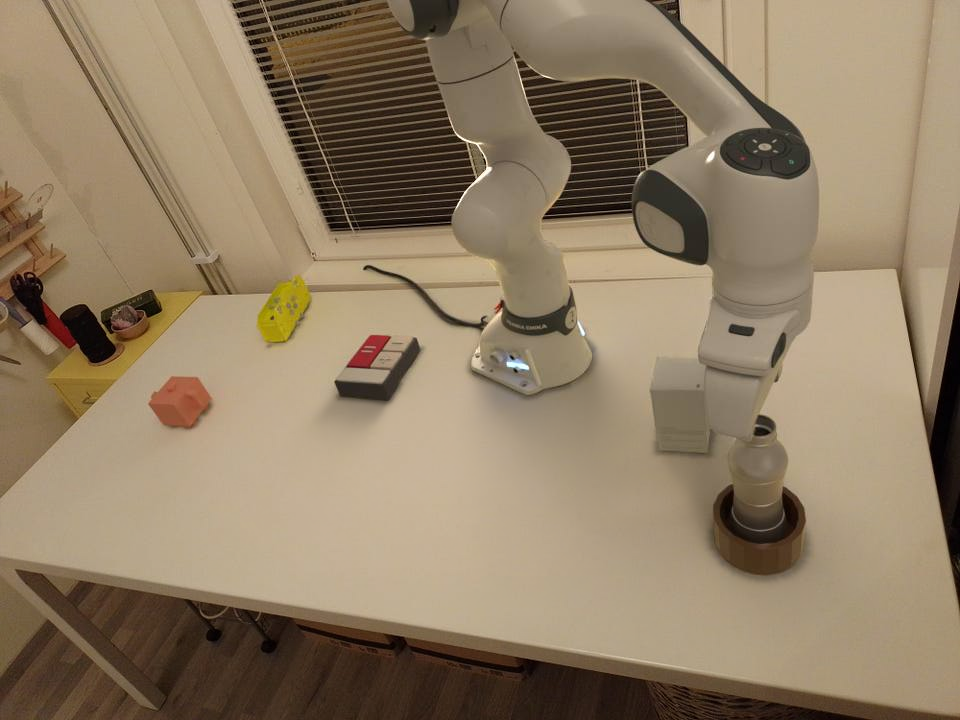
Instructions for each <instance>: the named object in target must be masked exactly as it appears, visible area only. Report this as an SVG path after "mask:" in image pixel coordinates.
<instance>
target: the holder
mask: <svg viewBox="0 0 960 720" xmlns="http://www.w3.org/2000/svg"><path fill="white" fill-rule="evenodd" d="M733 500H734V487H733V483H731V484H728V485H727V486H726V487H725V488H724V489H722V490H721V492H719V493H718V494H717V496H716V498H715V500H714V503H713V505H712V513H713V515H712V519H713V536H714V544H715V546H716V549H717V551H718V553H719V554H720V555H721V557H722V558H723V559H724V560H725V561H726V562H727V563H728V564H729V565H731V566H733V568H736V569H737V570H739V571H742V572H744V573H746V574H747V573H748V574H751V575H757V576H771V575H776V574H777V575H778V574H780V573H781V574H782V573H783V572H786V571H788V570H789V569H791V568H792V567H793V566H795V565H796V564H797V562H798V561H799V560H800V559H801V557H802V555H803V552H804V548H805V547H804V546H805V539H806V527H807V515H806V509H805V506H804V505H803V503H802V502H801V500H800V499H799V496H797V495H796V494H795V493H794V492H793V491H791V490H790V489H788V488H787V486H786V487H785V486H784V485H783V490H782V502H783V509H784V512H785V515H786V520H787V528H786V531H785V534H784V537H783V539H782V540H780V541H778V542H776V543H766V544H757V543H752V542H747V541H745V540H743V539H741V538H738V537H736V536H735V535H734V533H733V531H732V528H731V525H730V514H731V510H732V506H733Z"/></svg>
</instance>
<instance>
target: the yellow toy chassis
mask: <svg viewBox="0 0 960 720" xmlns="http://www.w3.org/2000/svg"><path fill="white" fill-rule="evenodd" d="M311 300H312V295H311V293H310V291H309V289H308V287H307V285H306V283H305V280H304V279H303V276H302V275H294V276H293V278H292V280H290V281H286V282H281V281H280V282H278V284H277V285H276V287H275V288H274V290H273V291H272V292H271V294H270V296H269V297H268V299H267V301H266V302H265V303H264V305H263V306H262V307H261V310H260V311H259V312H258V314H257V316H256V327H257V328H258V331H259V332H260V334H261V336H262V338H263V339H264V341H265V343H266V344H268V343H269V342H270V343H279V342H287V341H288V339H289V338H290V337H291V336H292V333H293V330H294V329H295V327H298V326H300V324H301V322H300V319H304V317H305V314H304V312H305V311H306V310H307V307H308V305H309V304H310V301H311Z"/></svg>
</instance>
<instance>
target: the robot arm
mask: <svg viewBox="0 0 960 720" xmlns="http://www.w3.org/2000/svg"><path fill="white" fill-rule="evenodd" d="M386 3H387V6H388V8H389V10H390V12H391V14H392V16H393V17H394V19H395V21H396V22H397V24H398V25H399V26H400V28H401V29H402V30H403V32H405V33H406V34H408V36H411V37H413V38H414V39H416V40H418V41H425V45H426V49H427V52H428V57H429V61H430V64H431V69H432V71H433V74H434V78H435V81H436V83H437V87H438V89H439V92H440V95H441V98H442V101H443V104H444V106H445V110H446V112H447V116H448V118H449V122H450V124H451V128H452V129H453V131H454V134H455V135H456V136H457V137H458V138H460V139H461V140H462V141H464V142H468V143H471V144H475V145H477V147H478V148H479V151H480V152H481V153H482V154H483V157H484V159H485V162H486V168H485V169H486V170H485V171H484V172H483V173H482V174H481V175H480V176H479V177H478V178H476V180H475V181H474V182H472V184H471V185H470V186H469V187H468V188H467V189H466V190H465V191H464V193H463V195H462V196H461V198H460V199H459V202H458V203H457V205H456V207H455V209H454V210H453V212H452V215H451V229H452V233H453V236H454V237H455V239H456V241H457V243H458V245H460V247H461V248H462V249H463V250H464V251H465V252H467V253H468V254H470V255H471V256H473V257H476V258H478V259H480V260H485V261H488V262H489V263H490V265H491V266H492V268H493V270H494V271H495V274H496V277H497V279H498V283H499V287H500V289H501V293H502V296H501V297H500V299H499V302H498V303H497V304H496V305H495V307H494V308H493V312H492V313H490V314H489V315H483V316H481V318H480V322H479V323H472V322H467V321H464V320H462V319H458V318H456V317H454V316H452V315H450V314H449V313H446V312H445V310H443V309H442V308H441V307H440V306H439V305H438V304H437V303H436V301H434V300H433V299H432V298H431V296H430V295H429V294H428V293H427V292H426V291H425V290H424V289H423V288H422V287H421V285H419V284H417V283H416V282H415V281H413V280H412V279H410V278H409V277H406V276H404V275H401V274H398V273H394V272H391V271H386V270H383V269H381V268H378V267H376V266H374V265H371V264H366V265H364V266H363V267H362V270H363V271H366V270H367V269H370V270H373V271H374V272H377V273H379V274H382V275H385V276H389V277H394V278H397V279H400V280H401V281H402V280H403V281H404V282H407V283H409V284H410V285H411V286H413V287H414V288H415V289H416V290H418V291H419V292H420V294H422V295H423V296H424V297H425V299H426V300H427V302H429V303H430V305H431V306H432V307H433V308H435V310H436V311H437V312H438V313H439V314H440V315H441V316H442V317H444V318H445V319H447V320H449V321H451V322H453V323H456V324H459V325H461V326H466V327H473V328H482V327H484V329H483V330H482V332H481V334H480V337H479V342H478V343H479V344H478V347H477V348H476V349H475V350H474V352H473V355H472V357H471V361H470V366H471V370H472V371H474V372H476V373H478V374H480V375H482V376H484V377H486V378H489V379H490V380H493V381H494V382H497V383H499V384H500V385H504V386H505V387H507V388H510V389H512V390H514V391H516V392H518V393H520V394H523V395H525V396H532V395H535V394H537V393H539V392H541V391H544V390H546V389H550V388H556V387H559V386H560V387H561V386H563V385H566V384H568V383H571V382H573V381H575V380H576V379H578V378H579V377H580V376H582V375H583V374H584V373H585V372H586V371H587V370H588V368H589V367H590V365H591V364H592V359H593V353H592V349H591V347H590V345H589V344H588V342H587V341H586V339H585V335H586V334H585V331H584V329H583V327H582V326H581V324H580V322H579V320H578V310H577V305H576V304H577V303H576V299H575V295H574V291H573V289H572V287H571V285H570V284H569V278H568V273H567V267H566V262H565V258H564V254H563V252H562V250H561V248H559V246H558V245H556V244H555V243H553V242H551V241H548V240H546V239H544V237H543V235H542V230H541V225H542V220H543V217H544V216H545V214H546V213H547V212H548V211H549V210H550V209H551V207H553V205H554V204H555V203H556V201H557V200H558V199H559V198H560V197H561V195H562V193H563V192H564V189H565V187H566V185H567V182H568V180H569V177H570V175H571V171H572V161H571V156H570V154H569V152H568V150H567V149H566V146H564V144H563V143H562V142H560V141H559V140H558V139H557V138H555V137H553V136H551V135H548V134H547V133H545V131H544V130H543V129H542V127H541V126H540V124H539V123H538V121H537V119H536V117H535V116H534V114H533V112H532V110H531V107H530V105H529V102H528V99H527V96H526V92H525V89H524V85H523V83H522V78H521V75H520V71H519V67H518V64H517V61H516V57H515V54H514V52H515V53H516V54H517V56H518V57H519V58H520V59H521V60H522V61H523V62H524V63H525V64H526V65H527V66H528V67H529V68H530V69H532V70H533V71H534V72H535V73H537V74H539V75H541V76H543V77H545V78H548V79H551V80H555V81H562V82H582V81H592V80H603V79H620V80H621V79H624V80H625V79H626V80H635V81H639V82H642V83H645V84H649V85H651V86H653V87H655V88H656V89H658V90H659V91H660V92H661V93H662V94H663V95H665V96H666V97H667V99H669V100H670V101H671V102H672V103H673V105H674V106H675V107H676V108H677V109H678V110H680V112H681V113H682V114H683V115H684V116H685V117H686V118H687V119H688V120H689V121H690V122H691V123H692V125H694V126H695V127H696V128H697V129H698V130H699V131H700V132H701V133H702V134H703V135H704V136H705V137H704V138H702V139H699V140H698V141H696V142H694V143H693V144H690V145H689V146H686V147H684V148H683V147H682V148H681V149H679V150H678V151H676V152H673V153H671V154H670V155H668V156H667V157H664V158H663V159H660V160H658V161H656V162H655V163H654V164H651V165H650V166H649V167H647V168H646V169H645V170H643V171H641V172H640V173H639V174H638V176H637V178H636V179H635V182H634V185H633V188H632V191H631V213H632V220H633V224H634V227H635V230H636V232H637V235H638V237H639V238H640V240H641V241H642V243H643V244H644V245H645V246H647V247H648V248H650V249H651V250H652V251H654V252H656V253H657V254H660V255H663V256H665V257H667V258H671V259H674V260H677V261H679V262H683V263H687V264H690V265H694V266H705V265H706V266H708V267H709V268H710V269H711V297H710V299H709V311H708V317H707V320H706V323H705V326H704V329H703V332H702V334H701V338H700V340H699V341H700V342H699V344H698V348H697V357H698V361H699V363H701V364H704V365H706V368H705V373H704V397H705V408H706V416H707V422H708V426H709V427H710V431H713V432H714V433H717V434H719V435H722V436H726V437H730V438H734V439H735V440H736V439H738V440H742V441H746V442H750V441H751V439H752V437H753V435H754V433H755V422H756V419H757V417H758V415H759V414H760V413H761V411H762V408H763V406H764V405H765V402H766V400H767V397H768V395H769V393H770V391H771V389H772V386H773V385H774V383H778V382H779V380H780V378H781V375H782V374H783V366H784V365H783V363H784V361H785V359H786V356H787V355H788V353H789V350H790V348H791V345H792V343H793V342H794V341H795V339H796V338H797V336H799V335H800V334H802V333H803V332H804V331H805V330H806V329H807V327H808V326H809V324H810V322H811V317H812V308H813V293H814V282H815V270H814V266H813V262H812V257H811V256H812V251H813V249H814V247H815V245H816V242H817V240H818V232H819V220H820V219H819V218H820V216H819V215H820V183H819V175H818V169H817V165H816V159H815V158H814V155H813V153H812V150H811V148H810V147H809V145H808V144H807V141H806V139H805V137H804V135H803V134H802V132H801V130H800V129H799V128H798V127H797V126H796V125H795V123H793V122H792V121H791V120H790V119H789V118H788V117H786V116H785V115H783V114H782V113H781V112H779V111H777V110H776V109H775V108H773V107H772V106H770V105H768V104H767V103H765V102H764V101H762V100H761V99H760V98H759V97H757V96H756V95H755V94H753V92H751V91H750V90H749V89H748V87H746V85H744V83H742V82H741V81H740V80H739V78H737V76H735V74H734V73H733V72H732V71H730V70H729V68H727V67H726V66H725V64H724V63H722V61H721V60H720V59H718V58H717V57H716V56H715V55H714V54H713V53H712V52H711V50H709V48H707V47H706V46H705V45H704V44H703V43H702V42H701V41H700V40H699V39H698V38H697V36H695V34H693V32H691V30H689V28H687V27H686V26H685V25H684V23H682V22H681V21H679V19H677V18H676V17H675V16H674V15H673V14H672V13H670V11H668V10H667V9H665V8H664V7H663V6H661V5H660V4H657V3H656V2H652V1H651V0H386ZM513 50H514V51H513Z"/></svg>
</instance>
